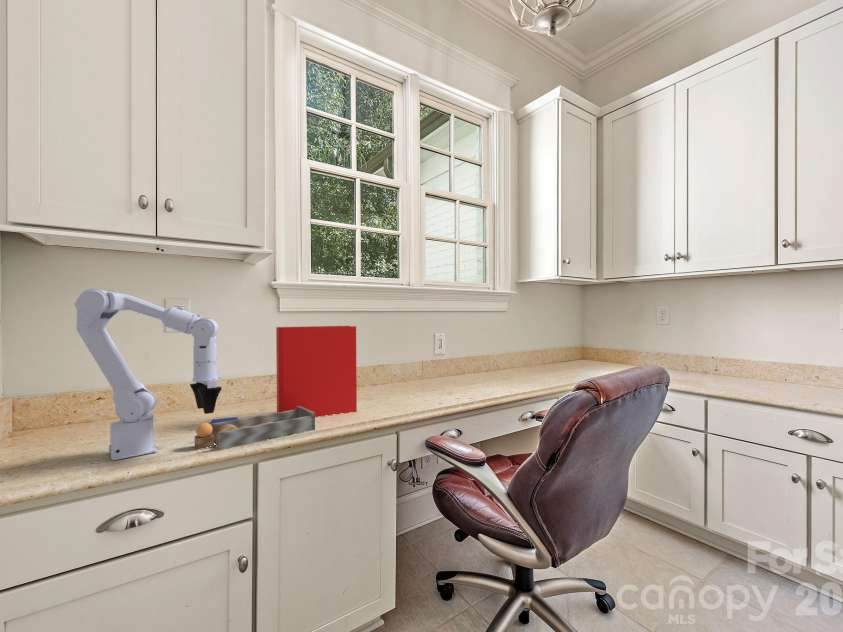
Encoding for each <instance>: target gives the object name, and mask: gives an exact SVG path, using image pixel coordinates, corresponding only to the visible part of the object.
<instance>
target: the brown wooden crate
mask: <svg viewBox="0 0 843 632" xmlns="http://www.w3.org/2000/svg"><path fill="white" fill-rule="evenodd" d="M195 446H196V447H195ZM210 446H214V447H215V445H214V436H213V435H212V434H210V435H209V436H208V437H203V438H201V437H199V436H198V435H197V434H196V435H194V447H195V449H196V450H197V449H201V448H205V449H207V448H206V447H210ZM210 448H211V447H210ZM201 450H202V449H201Z"/></svg>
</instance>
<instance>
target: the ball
mask: <svg viewBox="0 0 843 632" xmlns="http://www.w3.org/2000/svg"><path fill="white" fill-rule="evenodd" d="M212 430H213V429H212V426H211V425H210V422H209V423H208V422H202V423H200V424H199V425H197V427H196V429H195V434H196V436H197V435H198V436H199V437H201V438H203V437H208V436H209V435H210V434H211V433H212Z"/></svg>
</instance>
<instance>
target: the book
mask: <svg viewBox="0 0 843 632" xmlns="http://www.w3.org/2000/svg"><path fill="white" fill-rule="evenodd" d="M275 328H276V329H275V330H276V335H275V337H276V339H275V340H276V341H275V342H276V343H275V344H276V348H275V349H276V351H275V352H276V354H275V355H276V413H278V412H284V411H290V410H296V409H297V406H301V407H303V408H306V409H308V410H310V411H313V412H315V418H317V417H318V418H320V417H326V416H325V415H328V416H334V415H333V414H336V415H341V414H340V413H344V414H350V413H349V412H353V413H358V409H357V407H358V406H357V403H358V402H357V399H358V398H357V395H358V394H357V387H358V386H357V382H358V381H357V326H356V325H352V326H351V325H323V326H322V325H320V326H319V325H317V326H311V325H310V326H278V327H277V326H276V327H275ZM319 416H320V417H319Z"/></svg>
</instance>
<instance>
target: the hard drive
mask: <svg viewBox="0 0 843 632" xmlns="http://www.w3.org/2000/svg"><path fill="white" fill-rule="evenodd" d="M237 419H239V417H238V416H232V417H231V416H230V417H223V418H222V417H221V418H212V419H211V420H210V422H209V424H213V423H219V422H225V421H231V420H237Z"/></svg>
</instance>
